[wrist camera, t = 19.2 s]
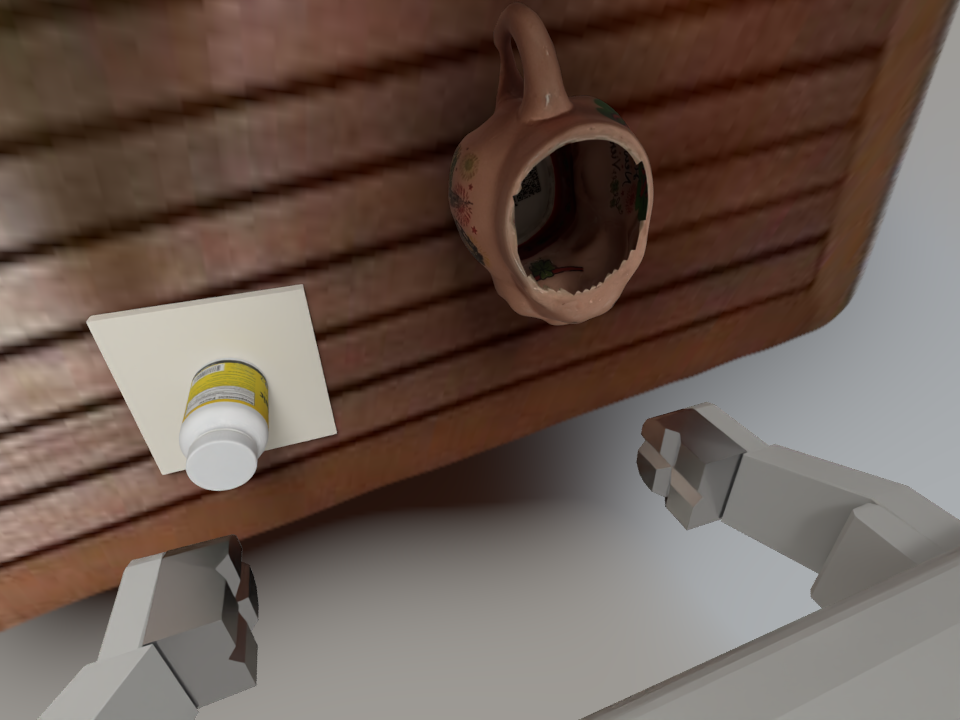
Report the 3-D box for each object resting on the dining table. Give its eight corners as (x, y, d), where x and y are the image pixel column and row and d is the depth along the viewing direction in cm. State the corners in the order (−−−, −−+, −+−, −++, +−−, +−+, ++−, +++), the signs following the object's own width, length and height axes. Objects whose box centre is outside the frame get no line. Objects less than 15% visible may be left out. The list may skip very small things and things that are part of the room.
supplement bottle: (259, 418, 41) (255, 503, 33) (184, 407, 38) (161, 496, 30) (277, 363, 39) (278, 439, 31) (200, 347, 36) (180, 425, 28)
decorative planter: (364, 63, 32) (414, 60, 21) (525, -15, 33) (656, -59, 22) (473, 306, 44) (543, 389, 32) (590, 243, 45) (697, 302, 33)
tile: (90, 316, 34) (85, 322, 33) (302, 284, 37) (303, 288, 37) (164, 466, 41) (162, 474, 40) (335, 427, 45) (337, 433, 44)
